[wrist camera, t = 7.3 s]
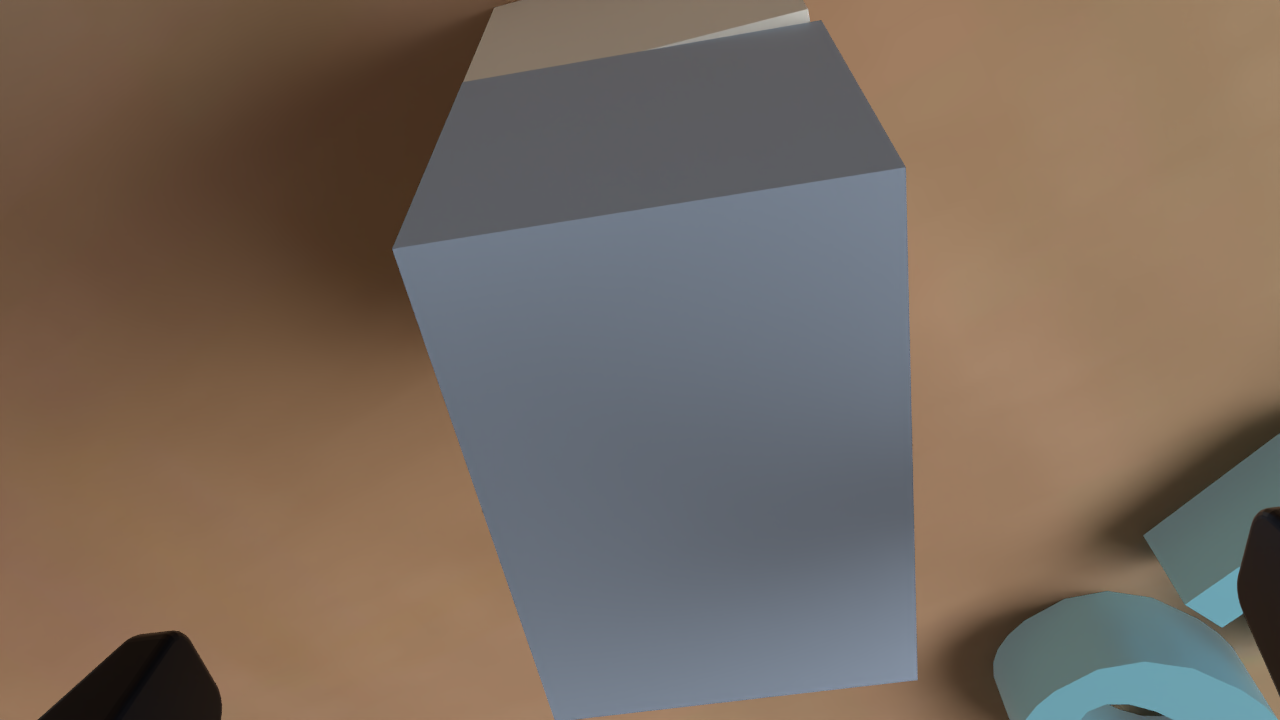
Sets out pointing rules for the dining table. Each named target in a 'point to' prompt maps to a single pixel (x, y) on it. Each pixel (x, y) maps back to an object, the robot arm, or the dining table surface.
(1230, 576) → the letter sign
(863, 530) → the slate brick
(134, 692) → the robot arm
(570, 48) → the cream brick
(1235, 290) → the dining table surface
